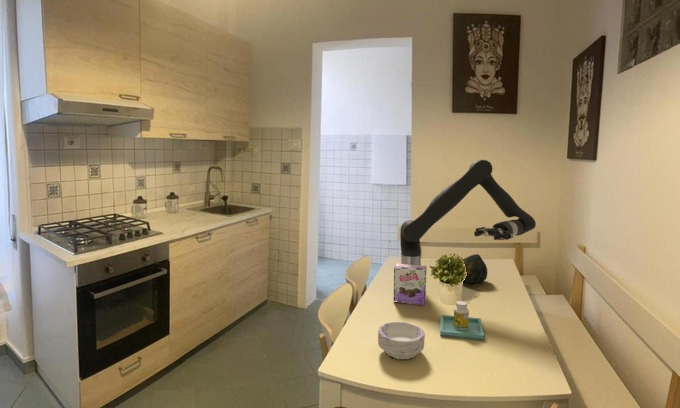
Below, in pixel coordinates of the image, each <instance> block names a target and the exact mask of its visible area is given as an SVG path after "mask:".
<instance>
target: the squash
mask: <svg viewBox="0 0 680 408" xmlns="http://www.w3.org/2000/svg"><path fill="white" fill-rule="evenodd" d="M462 260H463V261H464V264H465V266H466V272H467V276H466V278H465V280H464V282H463V283H465V284H466V283H467V284H471V283H474V284H475V283H476V284H478V283H484V282H485V281H486V280H487V278H488V267H487V264H486V263H485V261H484V260H483V258H482V257H481V255H480V254H478V253H477V254H476V253H475V254H472V255H468V256H467V257H465V258H464V259H462Z"/></svg>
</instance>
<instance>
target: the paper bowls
mask: <svg viewBox="0 0 680 408" xmlns="http://www.w3.org/2000/svg"><path fill="white" fill-rule="evenodd" d="M425 336H426V334H425V331H424V330H423V328H421V327H420V326H419V325H417V324H414V323H412V322H407V321H401V320H400V321H397V320H396V321H388V322H385V323H383V324H381V325H380V326H379V327H378V329H377V344H378V347H379V348H380V349H381V350H382V351H384V352H385V353H387V354H388V355H387V356H389V355H390V356H392V357H394V358H393V359H395V358H398V359H397V360H399V359H406V360H410V358H411V359H413V358H415V356H417V355H418V354H419V353H421V352H422V351H423V350H424V348H425V339H426V338H425ZM390 356H389V357H390ZM392 357H391V358H392Z"/></svg>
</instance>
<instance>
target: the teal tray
mask: <svg viewBox="0 0 680 408" xmlns="http://www.w3.org/2000/svg"><path fill="white" fill-rule="evenodd" d="M439 326H440V330H439V331H440V332H439V336H440V337H445V338H446V337H448V338H456V339H466V340H477V341H485V333H484V328H483V323H482V318H480V317H470V316H469V326H468V329H466V330H459V329H456V328H455V327H454V315H447V314H440V325H439Z"/></svg>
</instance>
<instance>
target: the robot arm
mask: <svg viewBox="0 0 680 408" xmlns="http://www.w3.org/2000/svg"><path fill="white" fill-rule="evenodd" d="M492 173H493V165H492V163H491V162H490V161H488V160H486V159H478V160H476V161H474V162H473V163H471V164H470V166H469V168H468V170H467V171H466V172H465V173H464V174H463V175H462V176H461V177H460V178H458V179H457V180H455V181H454V182H453V183H451V184H450V185H448V186H447V187H445V188H444V189H442V190H441V192H440V193H438V194H437V195H436V196H434V198H433V199H432V200H431V201H430V203H429V205H428V206H427V207H426V209H425V210H423V212H422V214H420V215H419V216H418V217H416V218H415V219H414V220H413V219H408V220H406V221H404V222H403V223H402V224H401V226H400V234H399V235H400V255H401V256H400V264H407V265H421V266H422V264H421V263H422V261H421V260H422V249H421V241H420V240H421V239H422V238H423V237H424V235H425V234H426V233H427V232H428V231H429V230H430V229H431V228H432V227H433V226H434V225H436V223H437V222H439V221H440V220H441V219H442V218H443V217H444V216H446V215H447V214H448V213H449V212H450V211H452V210H453V209H454V208H455V207H456V206H457V205H459V203H461V201H462V200H463V199H465V197H466V196H467V195H468V194H469V193H470V192H471V191H472V190H473V189H474V188H476V187H478V185H480V186H481V188H482V189H484V191H486V193H487V194H488V195H489V196H490V198H491V199H492V200H493V201H494V203H495V205H497V207H498V208H499V209H500V211H501V212H502V213H503V215H504V216H505V217H506V218H516V217H517V219H510V220H504V221H499V222H496V223H494V224H493V225H492V226H491V227H485V226H482V227H477V228H475V231H474V232H473V233H474V234H473V235H474V237H479V236H484V237H492V238H493V240H495V241H497V240H498V241H508V240H510V239H512V238H514V237H516V236H517V237H519V236H522V235H524V234H526V233H528V232H530V231H532V230H533V229H535V228H536V226H537V225H536V224H537V223H536V220H535V218H534V217H533V216H532V215H531V214H529V213H528V212H526V211H525V210H524V209H523V208H521V207H520V206H519V205H518V204H517V202H516V201H515V200H514V199H513V197H512V196H511V195H510V194H509V193H508V192H507V191H506V190H505V189H504V188H503V187H501V185H500V184H499V183H498V182H497V181H496V180H495V178H494V177H493V175H492Z"/></svg>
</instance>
